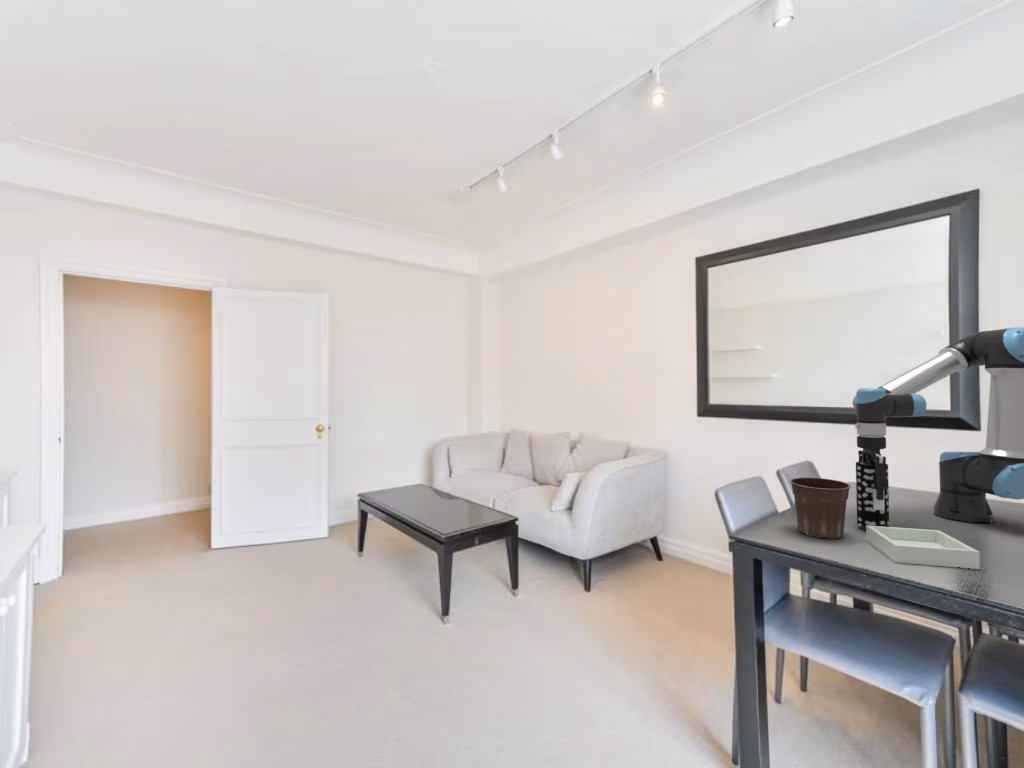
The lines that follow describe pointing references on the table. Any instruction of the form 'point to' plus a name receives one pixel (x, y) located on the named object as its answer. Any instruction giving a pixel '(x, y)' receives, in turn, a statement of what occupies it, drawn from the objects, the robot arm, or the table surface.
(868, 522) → the spotted tube
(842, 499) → the plant pot
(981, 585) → the table surface
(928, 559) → the tray
